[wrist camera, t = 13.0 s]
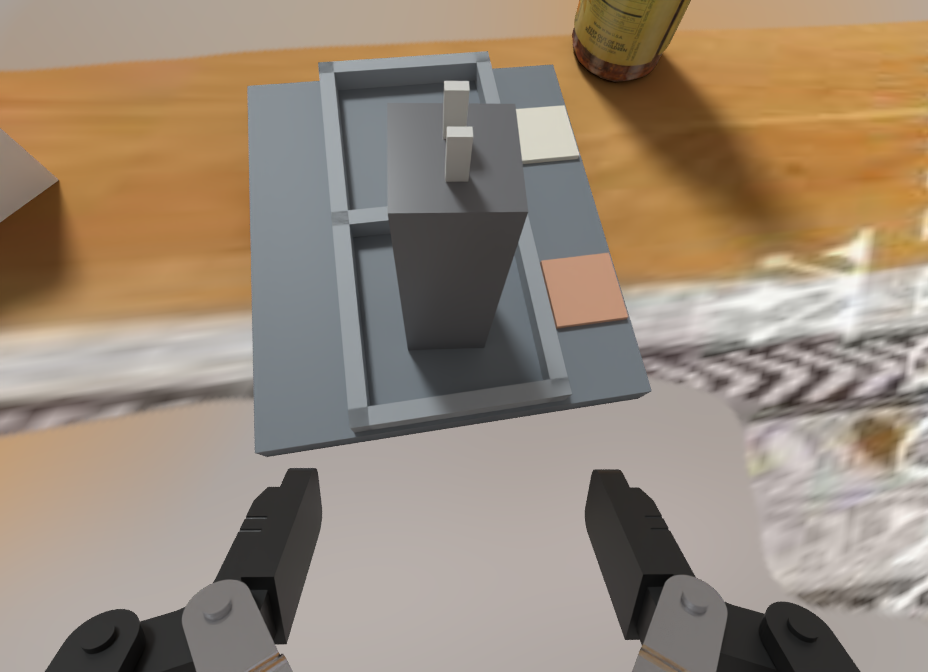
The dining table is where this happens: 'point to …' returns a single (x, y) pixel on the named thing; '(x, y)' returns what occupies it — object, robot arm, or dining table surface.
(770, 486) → the dining table surface
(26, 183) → the white wedge bracket
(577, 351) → the grey tray
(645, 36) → the sauce bottle
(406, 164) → the plug
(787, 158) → the dining table surface
